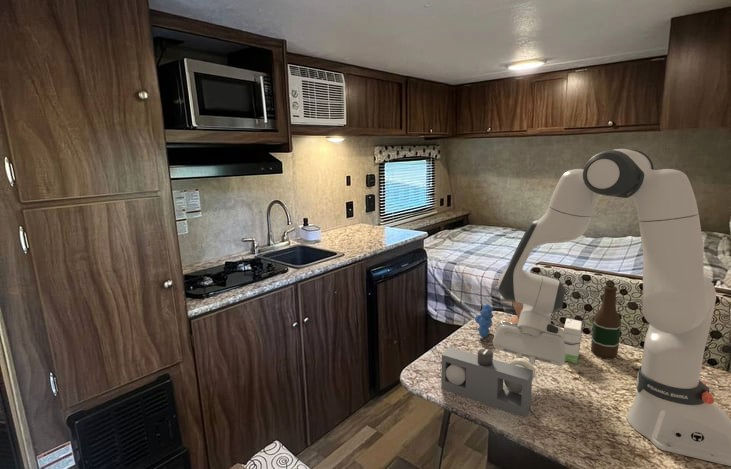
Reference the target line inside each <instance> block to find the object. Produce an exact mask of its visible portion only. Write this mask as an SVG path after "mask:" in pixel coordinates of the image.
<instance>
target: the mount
mask: <svg viewBox="0 0 731 469" xmlns="http://www.w3.org/2000/svg"><path fill="white" fill-rule="evenodd" d="M451 364H454V365H457V366H461V367H464V368H466V379H465V381H464V382H463V383H462V384H460V385H455V384H453V383H451V382H450V381H449V380H448V378H447V376H446V370H447V368H448V367H449V366H450V365H451ZM440 373H441V375H440V376H441V380H440V381H441V382H440V383H441V384H440V385H441V386H440V388H441V390H443V391H446V392H448V393H452V394H454V395H457V396H461V397H463V398H465V399H469V400H472V401H474V402H477V403H480V404H484V405H486V406H489V407H492V408H495V409H498V410H499V411H504V412H506V413H510V414H512V415H515V416H517V417H521V418H523V419H526V417H527V415H528V413H529V411H530V409H531V402H532V401H531V400H532V388H533V381H532V374H533V370H530V369H526V368H523V367H519V366H516V365H512V364H510V363H507V362H506V361H505V362H504V361H501V360H497V359H494V358H493V364H492V365H491V366H482V365H480V364H478V354H475V353H472V352H469V351H465V350H461V349H458V348H454V347H451V346H449V347H448V348H447V349H446V350H445V351H444V352H443V353H442V354H441V372H440ZM504 380H507V381H510V382H513V383H516V384H520V385H522V392H521V393H515V392H512V391H510V390H509V389H506V388H504Z"/></svg>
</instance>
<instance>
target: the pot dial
mask: <svg viewBox="0 0 731 469" xmlns="http://www.w3.org/2000/svg"><path fill="white" fill-rule="evenodd" d="M477 355H478V364H480V365H482V366H491V365H492V364H493V359H494V352H493V351H492V350H490V349H486V348H481V349H478V351H477Z"/></svg>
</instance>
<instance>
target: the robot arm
mask: <svg viewBox="0 0 731 469" xmlns="http://www.w3.org/2000/svg"><path fill="white" fill-rule="evenodd" d="M603 196H605V197H614V198H623V199H628V198H630V199H632V200H633V202H634V204H635V207H636V211H637V220H638V226H639V233H640V238H641V246H642V255H643V256H642V257H643V263H642V265H643V266H642V290H643V291H642V293H643V294H642V296H643V297H642V304H641V305H642V306H641V309H642V310H641V311H642V314H643V317H644V319H645V320H646V321H647V323H648V324H649V325H648V329H647V332H646V335H645V338H644V344H643V352H642V358H641V359H642V360H641V365H640V366H639V368H638V371H637V375H636V376H637V378H636V383H635V384H636V393H635V396H634V400H633V403H632V405H631V407H630V409H629V410H628V412H627V414H626V419H627V422H628V423H629V425H630V426H631V427H632V428H633V429H635V431H637V433H639V434H641V435H643V436H644V437H645V438H646V439H648V440H650V441H651V443H652V444H653V445H654V446H656V448H658V449H659V450H662V451H665V452H669V453H673V454H678V455H681V456H686V457H690V458H693V459H694V458H695V459H698V460H699V459H700V460H703V461H707V462H712V463H715V464H720V465H724V466H728V467H731V418H730V416H729V415H728V414H727V413H726V412H725V411H724V410H723V409H722V408H720V407H719V406H717V405H716V404H715V403H714V402H715V399H714V395H713V394H712V393H711V392H710V388H709V386H708V385H707V383H706V382H705V380H703V381H701V378H700V377H701V371H702V366H703V359H704V354H705V349H706V345H707V341H708V338H709V333H710V329H711V325H712V321H713V317H714V316H713V314H714V311H715V305H716V301H717V291H716V288H715V285H714V284H713V282H712V280H711V279H710V278H708V277H707V276H706V275H705V274H704V255H705V254H704V253H705V248H704V242H703V241H704V239H703V234H702V229H701V221H700V214H699V209H698V208H699V207H698V204H697V198H696V196H695V193H694V190H693V187H692V184H691V182H690V180H689V177H688V176H687V174H686V173H684V172H683V171H681V170H678V169H673V168H663V169H655V167H654V163H653V161H652V159H651V158H650V157H649V155H647V154H646V153H644V152H642V151H639V150H637V149H628V148H615V149H608V150H602V151H601V152H598V153H596V154H595V155H593V156H592V157H591V158H590V159H589V160H587V162H586V163H585V165H584V167H583V168H572V169H570V170H567V171H566V172H564V173H563V174H562V175H561V176H560V178H559V180H558V182H557V184H556V186H555V187H554V190H553V193H552V195H551V198H550V201H549V204H548V207H547V209H546V211H545V213H544V214H543V215H542V216H541V217H540V218H538V219H535V220H533V221H531V223H530V224H529V225H528V227H527V228H526V230H525V231H524V234H523V236H522V237H521V239H520V240H519V243H518V245H517V247H516V249H515V251H514V252H513V255H512V257H511V259H510V261H509V263H508V265H507V267H506V269H504V271H503V272H502V274H501V275H500V278H499V279H498V283H497V291H498V292H499V294H500V296H501V297H502V298H503V300H504V301H509V302H512V303H513V302H519V303H522V304H523V310H522V311H521V313H520V317H519V321H518V324H516V323H510V322H509V321H507V320H503V321H500V322H498V323H497V325H496V329H495V334H494V337H493V339H492V345H493V347H494V349H495V350H497V351H502V352H505V353H509V354H514V355H516V356H515V357H516V358H523V357H525V358H528V359H529V360H528V361H529V362H530V363H531V364H532V365H533V366H534V364H536V361H540V362H543V363H547V364H551V365H554V366H558V367H562V366H563V365H565V363H566V361H565V357H566V349H565V343H564V329H562V328H561V327H559V326H558V325H555V324H553V323H551V315H552V314H554V313H556V312H559V311H560V310H562V309H563V305H564V298H565V294H566V291H567V289H566V288H565V285H564V284H563V283H562V281H560V280H558V279H555V278H552V277H549V276H545V275H540V274H537V273H532V272H528V271H525V270H524V266H525V264H526V263H527V261H528V260H529V259H528V258H529V257H530V255H531V253H532V251H533V250H534V249H535V248H537V247H538V246H542V245H547V244H555V243H566V242H571V241H573V240H576V239H578V238H579V237H581V236H583V235H585V233H586V231H587V229H588V228H589V226H590V224H591V221H592V218H593V215H594V213H595V210H596V207H597V204H598V202H599V201H600V199H601V198H603Z"/></svg>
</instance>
